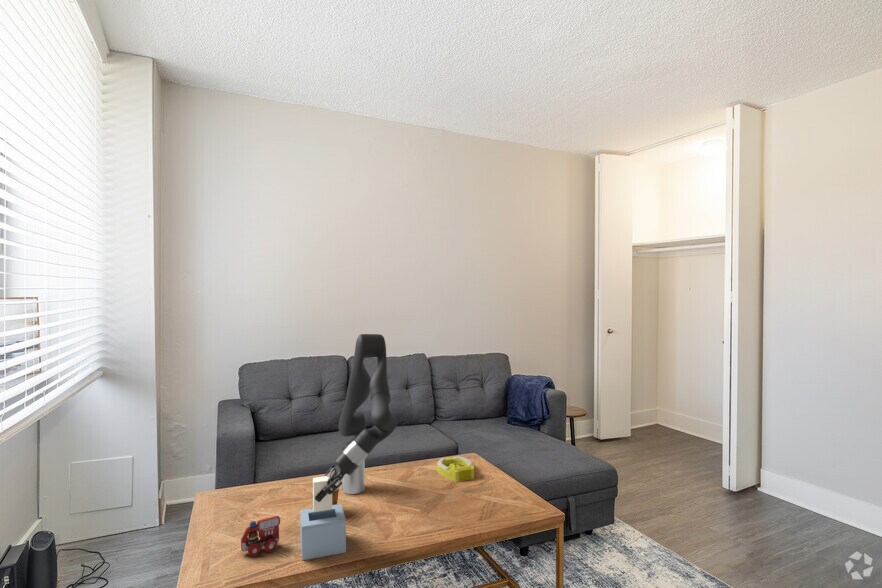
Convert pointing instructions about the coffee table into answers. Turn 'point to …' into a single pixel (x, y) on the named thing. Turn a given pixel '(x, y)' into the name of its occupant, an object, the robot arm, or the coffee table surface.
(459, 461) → the yellow low hollow piece
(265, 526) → the toy fire truck
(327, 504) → the block
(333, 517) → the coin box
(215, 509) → the coffee table surface
